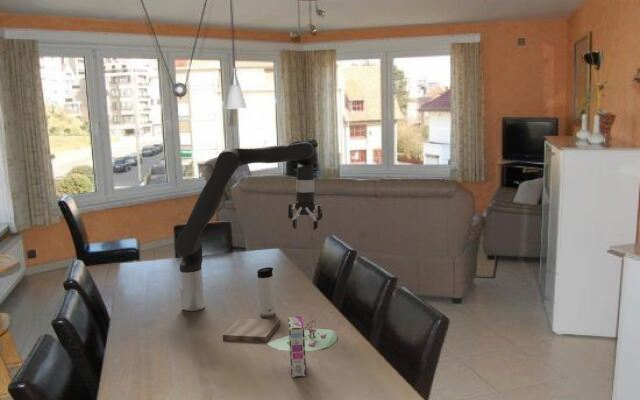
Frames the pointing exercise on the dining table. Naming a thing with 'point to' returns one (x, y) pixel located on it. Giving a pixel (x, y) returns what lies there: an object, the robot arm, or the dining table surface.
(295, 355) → the candy bar box
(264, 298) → the travel mug
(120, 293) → the dining table surface
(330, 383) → the dining table surface
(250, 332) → the walnut board
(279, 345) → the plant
